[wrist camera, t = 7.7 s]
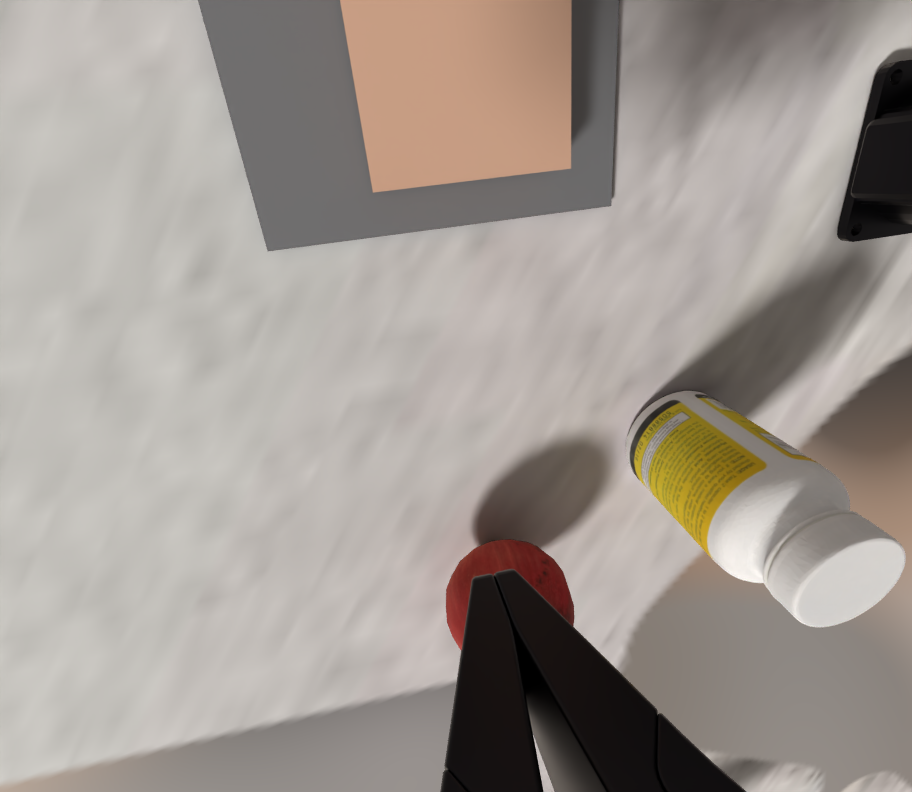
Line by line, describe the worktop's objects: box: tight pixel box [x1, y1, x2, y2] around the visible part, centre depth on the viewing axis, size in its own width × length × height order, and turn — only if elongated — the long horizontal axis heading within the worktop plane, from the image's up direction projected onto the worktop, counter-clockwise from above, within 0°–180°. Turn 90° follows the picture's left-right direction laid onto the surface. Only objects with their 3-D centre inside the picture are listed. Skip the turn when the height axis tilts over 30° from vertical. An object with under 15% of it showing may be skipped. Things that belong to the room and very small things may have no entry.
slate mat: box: [198, 0, 619, 251], centre depth 15 cm, size 13×11×1 cm
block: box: [340, 0, 571, 193], centre depth 14 cm, size 2×8×6 cm
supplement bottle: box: [626, 391, 905, 627], centre depth 19 cm, size 5×5×10 cm
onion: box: [446, 539, 574, 650], centre depth 21 cm, size 6×6×8 cm
